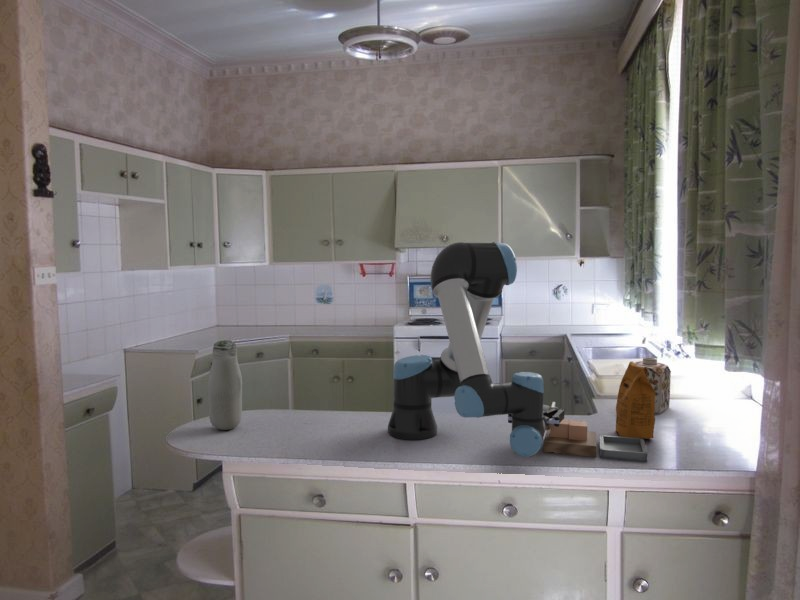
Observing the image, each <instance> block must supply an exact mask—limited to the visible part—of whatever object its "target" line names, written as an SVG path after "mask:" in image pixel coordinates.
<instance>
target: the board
mask: <svg viewBox="0 0 800 600" xmlns="http://www.w3.org/2000/svg"><path fill="white" fill-rule="evenodd" d="M544 435H545V436H544V438H543V439H544V441H543V453H548V452H554V453H553V454H559V453H562V454H561V455H568V456H569V455H570V456H583V457H584V456H585V457H592V458H593V457H594V458H596V457H597V431H590V430H587V441H586V440H574V439H569V437H568V438H560V437H550V429H549V430H545V434H544Z"/></svg>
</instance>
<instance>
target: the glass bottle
mask: <svg viewBox="0 0 800 600" xmlns="http://www.w3.org/2000/svg"><path fill="white" fill-rule="evenodd" d="M212 356H213V357H212V361H211V366H210V371H209V374H208V379H207V394H208V416H209V417H208V418H209V420H210V421H209V422H210V423H211V426H212V427H213V428H215V429H217V430H219V431H229V430H233V429H235V428H237V427H238V426H239V425H240V423H241V421H242V415H243V376H242V372H241V368H240V364H239V361H238V360H239V359H238V347H237V344H236V343H235V342H234V341H232V340H227V339H226V340H225V339H224V340H219V341H216V342H215V343H213V348H212Z"/></svg>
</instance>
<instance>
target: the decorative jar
mask: <svg viewBox="0 0 800 600" xmlns="http://www.w3.org/2000/svg"><path fill="white" fill-rule="evenodd" d="M633 363H634V364H636V366H637V367H643V368H646V369H648V372H647V373H645V375H646V377H647V379H648V380H649V382H650V384H651V385H652V387H653V389H654V391H655V412H654V414H657V415H660V414H662V413H664V411H666V410H667V409H668V408H669V407H670V401H671V400H670V399H671V398H670V397H671V375H672V374H671V373H672V371H671V369H670V366H669V365H667V364H665V363H661V362H658V360H657V358H655V357H643V358H642V361H641V360H639V361H635V362H633Z"/></svg>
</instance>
